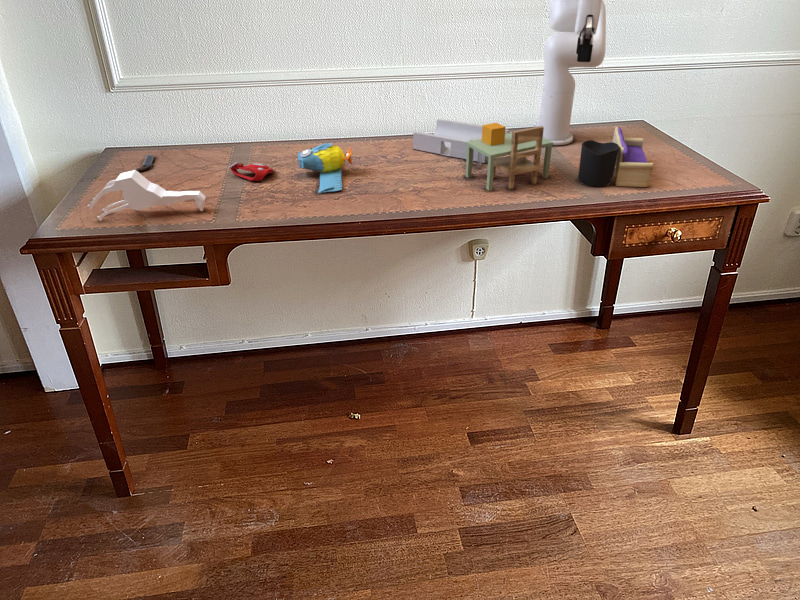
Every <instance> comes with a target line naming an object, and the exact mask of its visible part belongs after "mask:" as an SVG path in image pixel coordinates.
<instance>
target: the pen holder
mask: <svg viewBox="0 0 800 600" xmlns="http://www.w3.org/2000/svg"><path fill="white" fill-rule="evenodd" d="M618 150H619V145H618V144H616V143H613V142H612V141H610V142H609V141H608V142H598V141H596V140H593V139H588V140H584V141H582V142H581V149H580V157H579V167H578V178H577V179H578V181H579V182H580V183H581V184H582V185H585V186H586V187H594V188H601V187H602V188H603V187H606V186H608V185H610V184H612V180H613V176H614V172H615V169H616V168H615V164H616V159H617V155H618Z"/></svg>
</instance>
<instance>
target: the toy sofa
mask: <svg viewBox="0 0 800 600" xmlns="http://www.w3.org/2000/svg"><path fill="white" fill-rule="evenodd" d="M644 141H645V140H644V138H642V137H625V136H624V133H623V130H622V128H621V127H620V126H614V132H613V137H612V141H611V142H613V143H616V144H618V145H619V150H618V155H617V159H616V164H615V168H614V169H615V171H616V177H615V182H614V183H615V185H614V186H615V187H634V188H648V187H649V186H650V181H651V176H652V172H653V168H654V163H653V162H648V159H647V157H646V154H645V152H644V150H643V146H644Z"/></svg>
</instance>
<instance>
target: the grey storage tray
mask: <svg viewBox="0 0 800 600" xmlns="http://www.w3.org/2000/svg"><path fill="white" fill-rule="evenodd" d="M482 127H483V125H481V124H474V123H467V122H462V121H454V120H448V119H443V118H437V119H436V126H435V130H434V132H433V133H427V132H421V131H416V130H415V131H414V132H413V133H412V149H413V150H417V151H423V152H428V153H431V154H438V155H441V156H447V157H452V158H457V159H461V160H466V157H467V145H466V142H467V141H472V140H477V139H482ZM509 133H510V129H505V134H509ZM474 162H477V167H476V168H477V169H480V168H481V167H482V163H483V164H486V163H488V157H487V156H485V155H483V154H481V153H479V152H478V151H476V150H474V149H473V155H472V166H473V165H474Z"/></svg>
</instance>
